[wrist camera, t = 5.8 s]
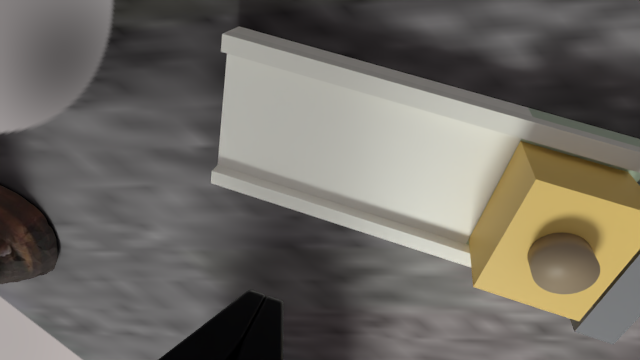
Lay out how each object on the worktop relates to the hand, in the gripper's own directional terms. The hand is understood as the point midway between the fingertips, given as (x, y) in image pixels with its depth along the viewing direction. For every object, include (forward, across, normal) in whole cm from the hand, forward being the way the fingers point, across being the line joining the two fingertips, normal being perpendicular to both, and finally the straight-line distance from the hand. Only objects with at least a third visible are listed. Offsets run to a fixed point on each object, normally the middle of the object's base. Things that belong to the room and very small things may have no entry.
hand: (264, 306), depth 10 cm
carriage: (+9, -9, 0) cm, 13 cm away
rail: (+10, -4, 0) cm, 11 cm away
